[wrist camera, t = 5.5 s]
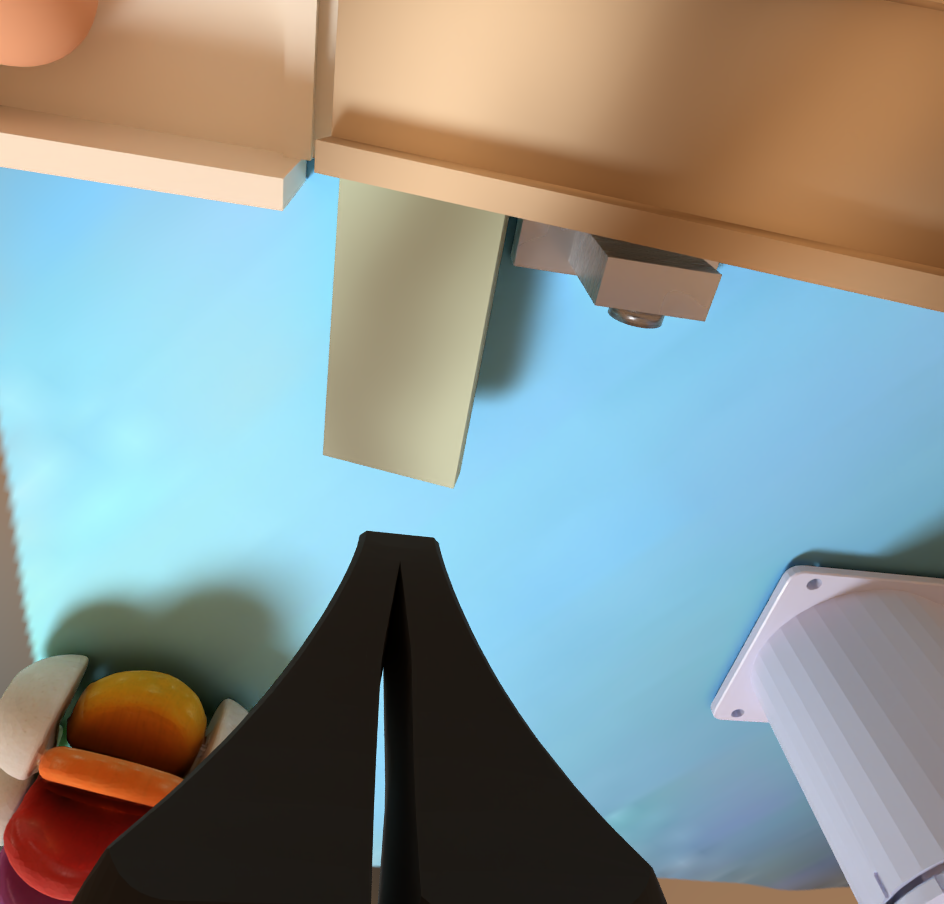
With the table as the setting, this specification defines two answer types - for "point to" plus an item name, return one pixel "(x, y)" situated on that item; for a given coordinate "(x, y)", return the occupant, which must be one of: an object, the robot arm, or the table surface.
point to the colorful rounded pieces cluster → (89, 767)
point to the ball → (42, 29)
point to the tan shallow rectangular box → (181, 99)
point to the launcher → (608, 171)
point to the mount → (621, 273)
